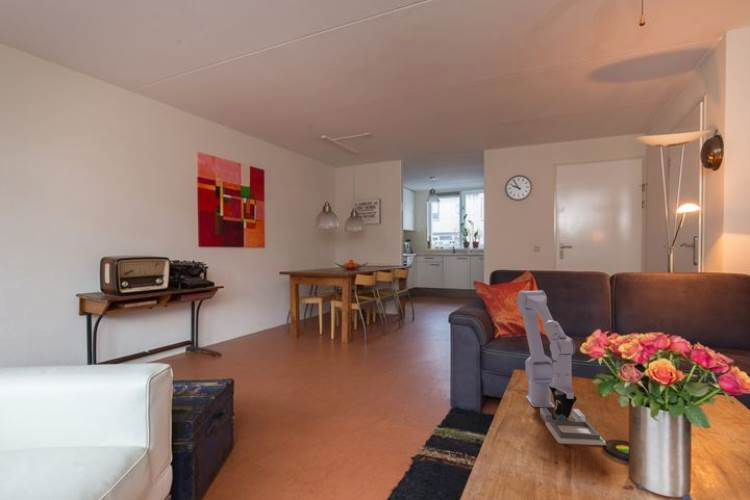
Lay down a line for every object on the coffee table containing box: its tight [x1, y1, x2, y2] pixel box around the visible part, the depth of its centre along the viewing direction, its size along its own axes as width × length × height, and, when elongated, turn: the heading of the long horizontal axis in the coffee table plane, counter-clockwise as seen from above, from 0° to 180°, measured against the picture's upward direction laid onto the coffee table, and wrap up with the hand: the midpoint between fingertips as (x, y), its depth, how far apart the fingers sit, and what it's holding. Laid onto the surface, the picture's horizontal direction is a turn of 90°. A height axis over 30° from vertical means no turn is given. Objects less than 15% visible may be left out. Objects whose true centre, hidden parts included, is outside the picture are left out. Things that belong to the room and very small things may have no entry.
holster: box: [539, 407, 586, 424], centre depth 135 cm, size 6×13×3 cm, turn 84°
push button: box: [551, 390, 571, 420], centre depth 135 cm, size 7×5×10 cm
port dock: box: [545, 419, 607, 446], centre depth 125 cm, size 12×14×2 cm
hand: (562, 410), depth 135 cm, fingers open, 6 cm apart
